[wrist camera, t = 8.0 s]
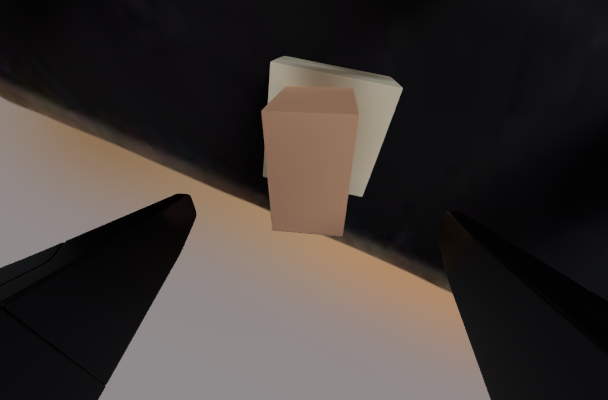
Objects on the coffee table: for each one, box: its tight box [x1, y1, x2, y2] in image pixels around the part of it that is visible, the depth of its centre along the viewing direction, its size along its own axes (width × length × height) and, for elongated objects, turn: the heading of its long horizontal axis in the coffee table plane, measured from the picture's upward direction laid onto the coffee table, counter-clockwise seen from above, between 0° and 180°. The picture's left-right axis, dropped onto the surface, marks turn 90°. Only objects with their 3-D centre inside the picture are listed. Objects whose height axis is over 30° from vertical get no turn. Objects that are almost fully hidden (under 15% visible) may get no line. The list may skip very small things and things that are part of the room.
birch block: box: [263, 56, 403, 197], centre depth 16 cm, size 7×7×4 cm
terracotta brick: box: [261, 86, 359, 237], centre depth 12 cm, size 4×6×5 cm, turn 179°
